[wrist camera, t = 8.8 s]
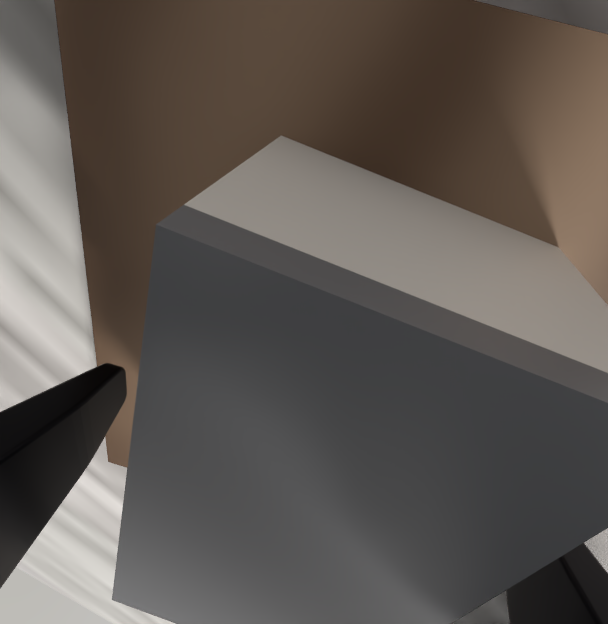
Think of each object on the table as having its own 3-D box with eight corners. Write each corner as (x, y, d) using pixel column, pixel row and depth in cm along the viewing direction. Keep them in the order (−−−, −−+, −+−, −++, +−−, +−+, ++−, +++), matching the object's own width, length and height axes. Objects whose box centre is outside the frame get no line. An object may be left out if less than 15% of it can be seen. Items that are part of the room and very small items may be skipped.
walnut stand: (778, 96, 8) (910, 111, 6) (449, 508, 17) (457, 570, 15) (126, -70, 9) (41, -110, 7) (141, 414, 18) (108, 461, 16)
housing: (361, 496, 14) (347, 687, 10) (198, 433, 14) (112, 600, 9) (558, 247, 8) (730, 451, 4) (281, 135, 8) (155, 223, 4)
